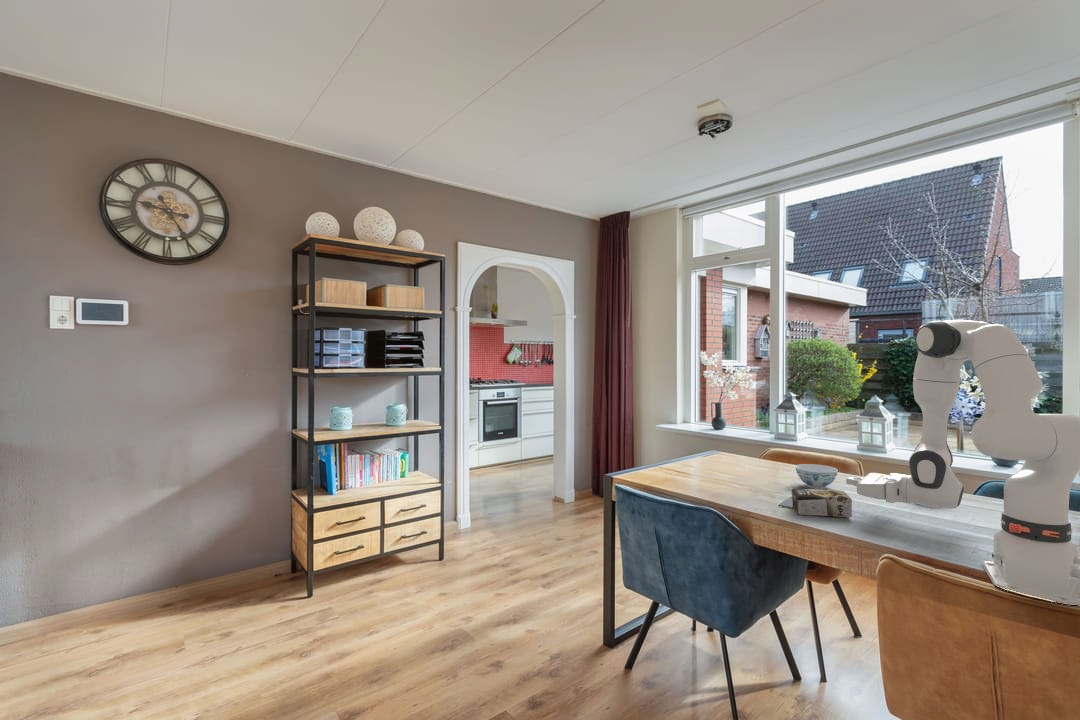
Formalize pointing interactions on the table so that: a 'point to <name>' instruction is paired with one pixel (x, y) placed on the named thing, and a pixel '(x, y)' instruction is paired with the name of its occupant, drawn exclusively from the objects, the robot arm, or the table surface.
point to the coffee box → (822, 502)
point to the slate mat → (787, 503)
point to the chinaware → (816, 475)
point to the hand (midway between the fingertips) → (847, 480)
